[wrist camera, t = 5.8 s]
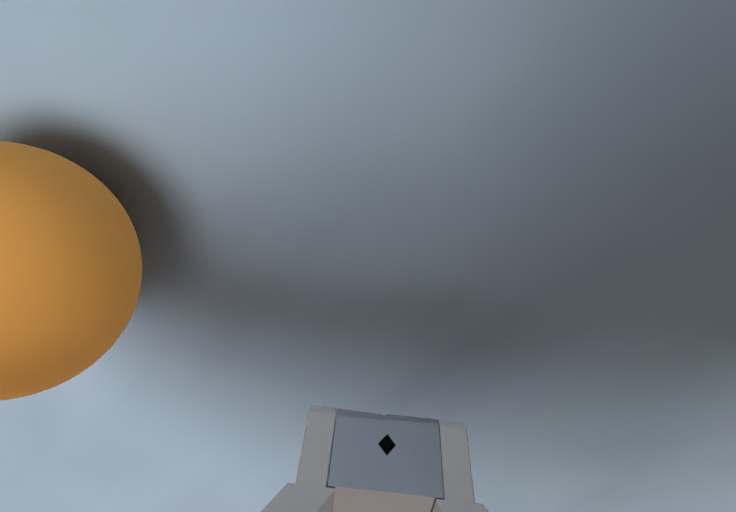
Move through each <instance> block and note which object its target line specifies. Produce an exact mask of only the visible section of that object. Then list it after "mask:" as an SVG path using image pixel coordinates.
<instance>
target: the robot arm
mask: <svg viewBox="0 0 736 512" xmlns="http://www.w3.org/2000/svg"><path fill="white" fill-rule="evenodd" d="M261 512H488V510H487V509H486V508H485V506H484V505H483V504H478V503H475V498H474V489H473V481H472V473H471V464H470V456H469V448H468V439H467V431H466V427H465V425H464V423H462V422H453V421H443V420H437V419H430V418H420V417H409V416H399V415H389V414H387V415H380V414H373V413H365V412H358V411H351V410H344V409H337V414H336V408H328V407H320V406H311V407H310V410H309V413H308V418H307V423H306V429H305V434H304V440H303V445H302V451H301V456H300V462H299V467H298V473H297V478H296V484H295V483H287V484H286V485H285V486H284V488H283V489H282V490H281V491H280V492H279V493H278V494H277V495H276V496H275V497H274V498H273V499H272V500H271V502H270V503H269V504H268V505H267V506H266V507H265V508H264V509H263V510H262V511H261Z"/></svg>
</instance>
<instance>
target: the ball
mask: <svg viewBox="0 0 736 512" xmlns="http://www.w3.org/2000/svg"><path fill="white" fill-rule="evenodd" d="M141 282H142V256H141V249H140V244H139V240H138V237H137V234H136V231H135V228H134V226H133V224H132V222H131V219H130V217H129V216H128V214H127V212H126V210H125V209H124V207H123V206H122V204H121V203H120V202H119V200H118V199H117V198H116V197H115V195H114V194H113V193H112V192H111V191H110V190H109V189H108V188H107V187H106V186H105V185H104V184H103V183H102V182H101V181H100V180H98V179H97V178H96V177H95V176H93V175H92V174H91V173H89V172H88V171H87V170H85V169H84V168H82V167H81V166H79V165H77V164H76V163H74V162H72V161H70V160H68V159H66V158H64V157H62V156H60V155H58V154H55V153H53V152H50V151H48V150H44V149H41V148H37V147H34V146H30V145H26V144H21V143H15V142H9V141H0V400H9V399H14V398H19V397H24V396H28V395H32V394H36V393H38V392H41V391H44V390H47V389H50V388H52V387H55V386H57V385H59V384H61V383H63V382H65V381H67V380H69V379H71V378H73V377H75V376H76V375H78V374H79V373H81V372H83V371H84V370H85V369H87V368H88V367H90V366H91V365H92V364H94V363H95V362H96V361H97V360H98V359H99V358H100V357H101V356H102V355H103V354H104V353H106V352H107V351H108V350H109V349H110V348H111V347H112V345H113V344H114V343H115V341H116V340H117V339H118V337H119V336H120V335H121V333H122V332H123V331H124V329H125V328H126V326H127V324H128V322H129V320H130V318H131V316H132V314H133V312H134V310H135V307H136V304H137V301H138V298H139V293H140V289H141Z"/></svg>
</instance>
